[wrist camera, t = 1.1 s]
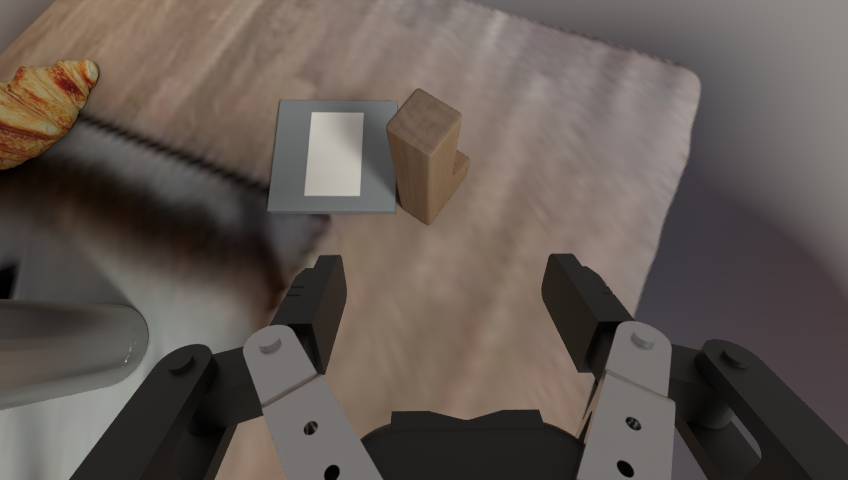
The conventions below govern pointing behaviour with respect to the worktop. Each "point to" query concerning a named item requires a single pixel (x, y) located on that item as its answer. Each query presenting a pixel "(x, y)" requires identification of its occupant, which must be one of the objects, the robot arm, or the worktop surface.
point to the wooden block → (426, 154)
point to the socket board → (333, 158)
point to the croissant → (41, 107)
